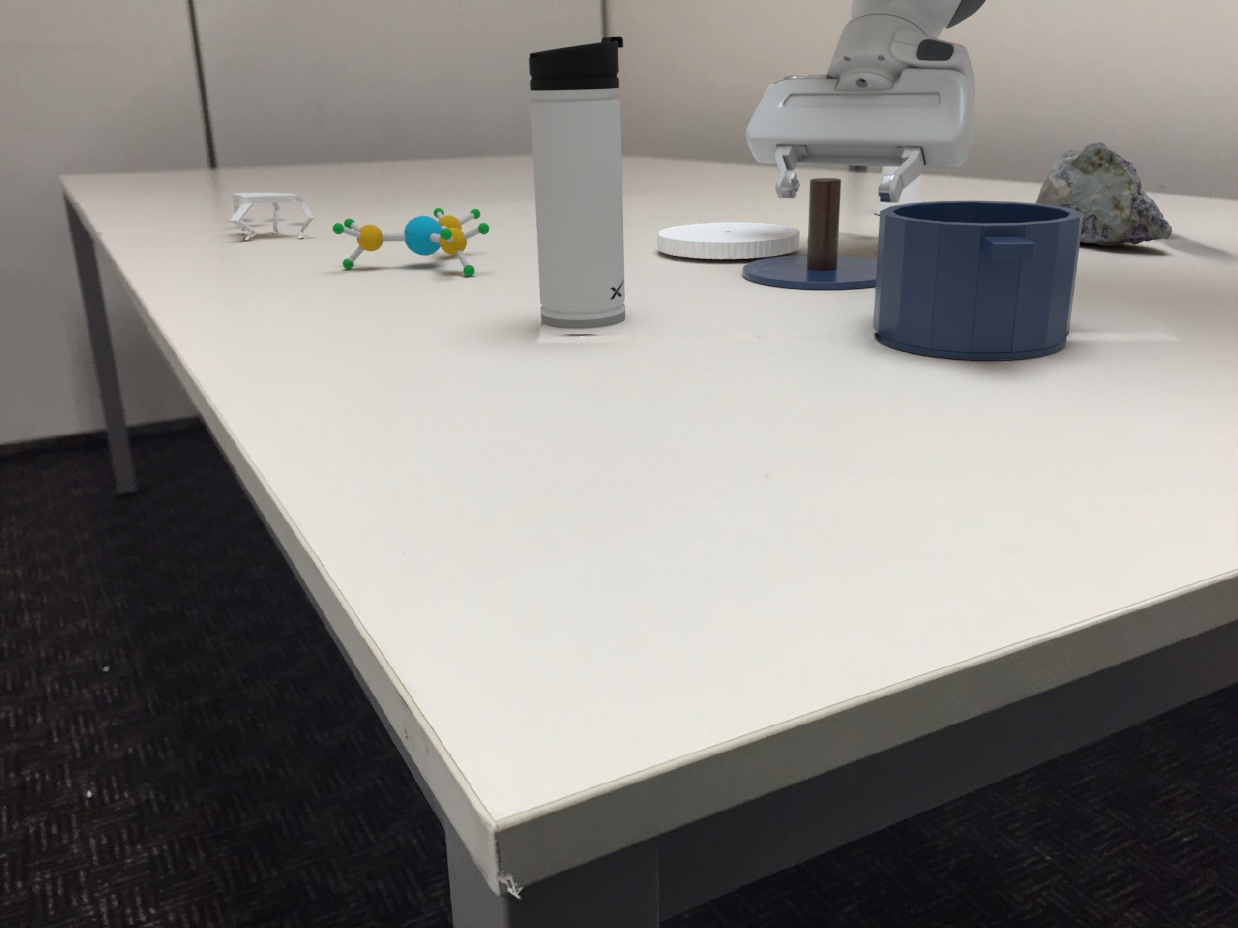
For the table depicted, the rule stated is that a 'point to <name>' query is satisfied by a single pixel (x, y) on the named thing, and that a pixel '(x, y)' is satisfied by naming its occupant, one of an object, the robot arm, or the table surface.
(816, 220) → the tin lid
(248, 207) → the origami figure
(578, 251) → the travel mug
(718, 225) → the plastic lid
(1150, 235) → the mineral rock
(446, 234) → the molecular model
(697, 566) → the table surface
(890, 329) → the tin
